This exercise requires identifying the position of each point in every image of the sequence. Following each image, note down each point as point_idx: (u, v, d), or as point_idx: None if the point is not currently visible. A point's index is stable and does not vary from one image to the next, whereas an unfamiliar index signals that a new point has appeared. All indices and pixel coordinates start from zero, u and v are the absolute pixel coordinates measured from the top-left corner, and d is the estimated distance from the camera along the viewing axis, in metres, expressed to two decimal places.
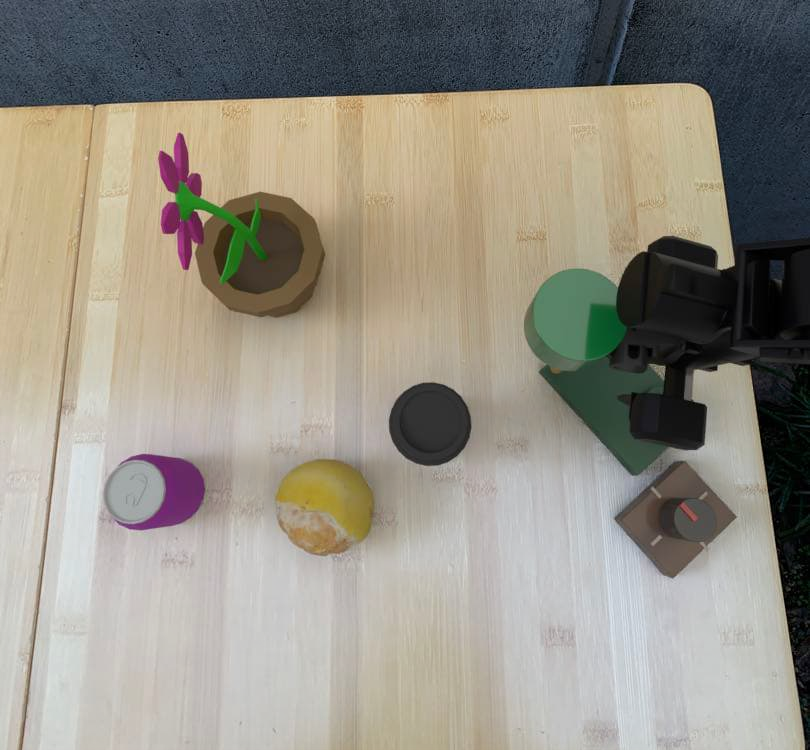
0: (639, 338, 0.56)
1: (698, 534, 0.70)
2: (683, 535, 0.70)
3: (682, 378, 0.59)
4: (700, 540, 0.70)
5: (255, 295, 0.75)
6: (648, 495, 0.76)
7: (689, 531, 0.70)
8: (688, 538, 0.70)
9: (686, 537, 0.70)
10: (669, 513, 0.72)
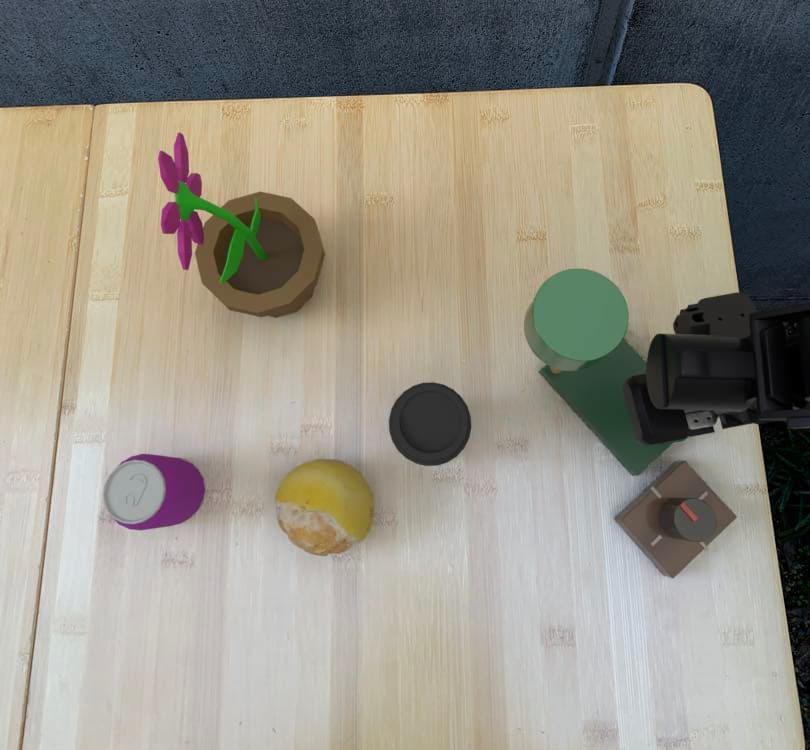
0: (713, 324, 0.59)
1: (698, 534, 0.70)
2: (683, 535, 0.70)
3: None
4: (700, 540, 0.70)
5: (255, 295, 0.75)
6: (648, 495, 0.76)
7: (689, 531, 0.70)
8: (688, 538, 0.70)
9: (686, 537, 0.70)
10: (669, 513, 0.72)
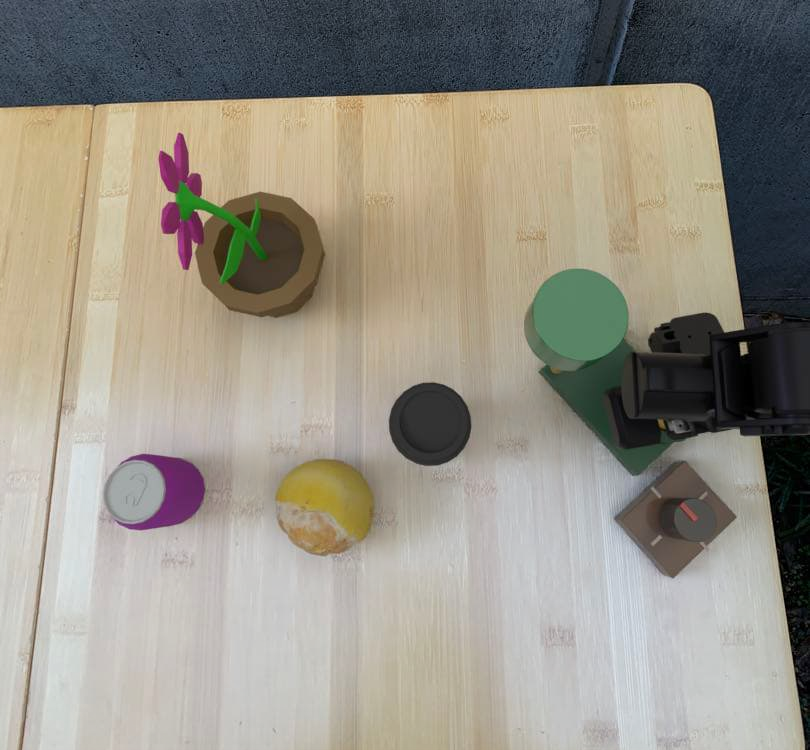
0: (683, 342, 0.65)
1: (698, 534, 0.70)
2: (683, 535, 0.70)
3: None
4: (700, 540, 0.70)
5: (255, 295, 0.75)
6: (648, 495, 0.76)
7: (689, 531, 0.70)
8: (688, 538, 0.70)
9: (686, 537, 0.70)
10: (669, 513, 0.72)
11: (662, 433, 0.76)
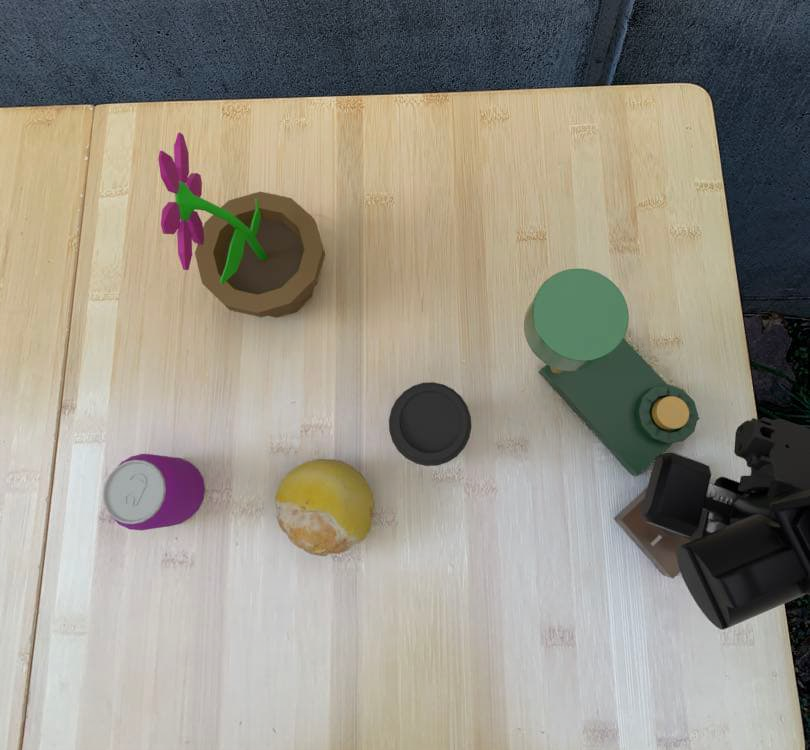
0: (777, 447, 0.55)
1: (698, 534, 0.70)
2: None
3: (724, 511, 0.56)
4: None
5: (255, 295, 0.75)
6: None
7: None
8: (688, 538, 0.70)
9: (686, 537, 0.70)
10: None
11: (662, 433, 0.76)
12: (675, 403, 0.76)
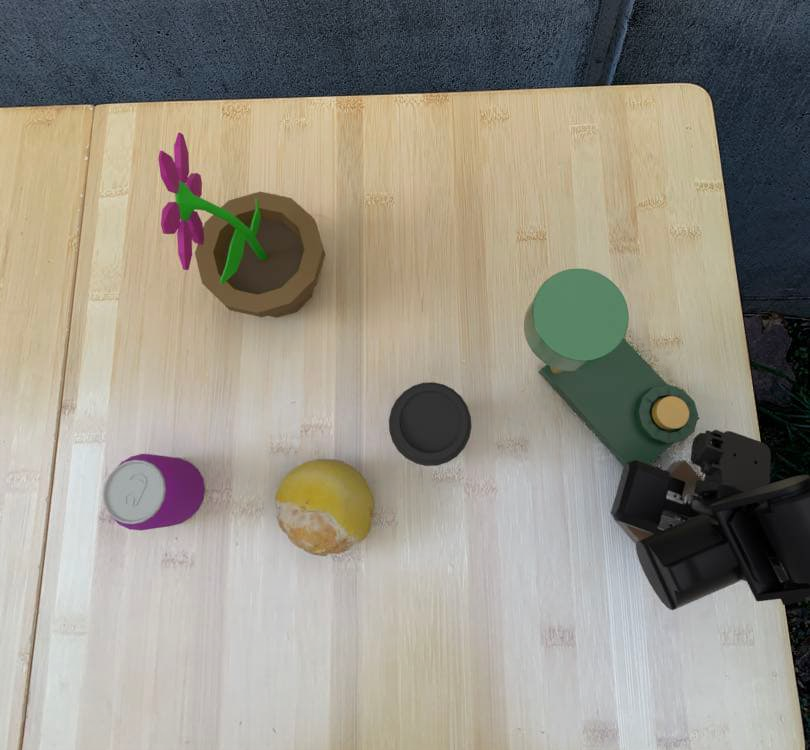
0: (726, 456, 0.64)
1: None
2: None
3: (682, 511, 0.66)
4: None
5: (255, 295, 0.75)
6: None
7: None
8: None
9: None
10: None
11: (662, 433, 0.76)
12: (675, 403, 0.76)
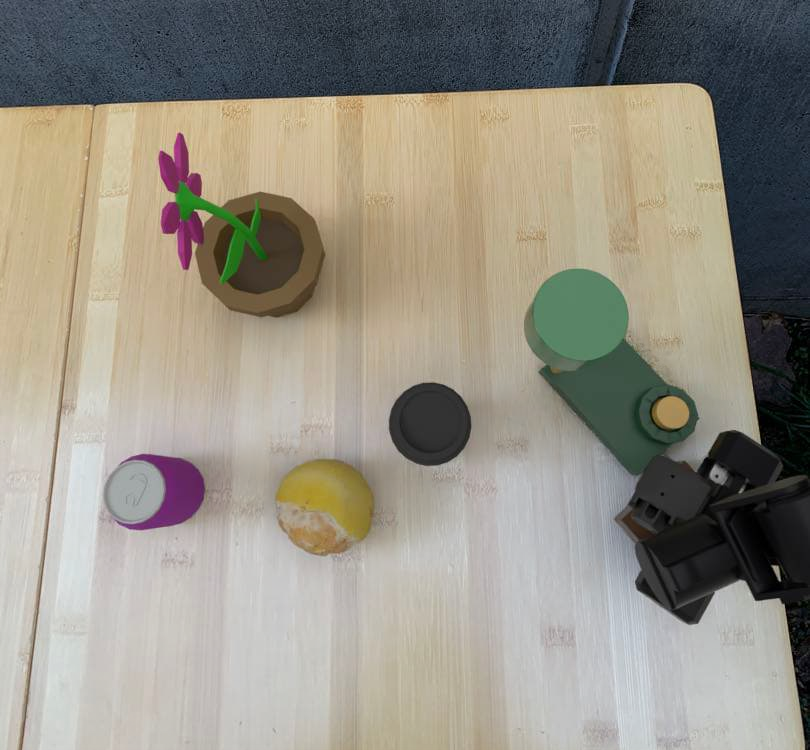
0: (662, 504, 0.64)
1: None
2: None
3: None
4: None
5: (255, 295, 0.75)
6: None
7: None
8: None
9: None
10: None
11: (662, 433, 0.76)
12: (675, 403, 0.76)
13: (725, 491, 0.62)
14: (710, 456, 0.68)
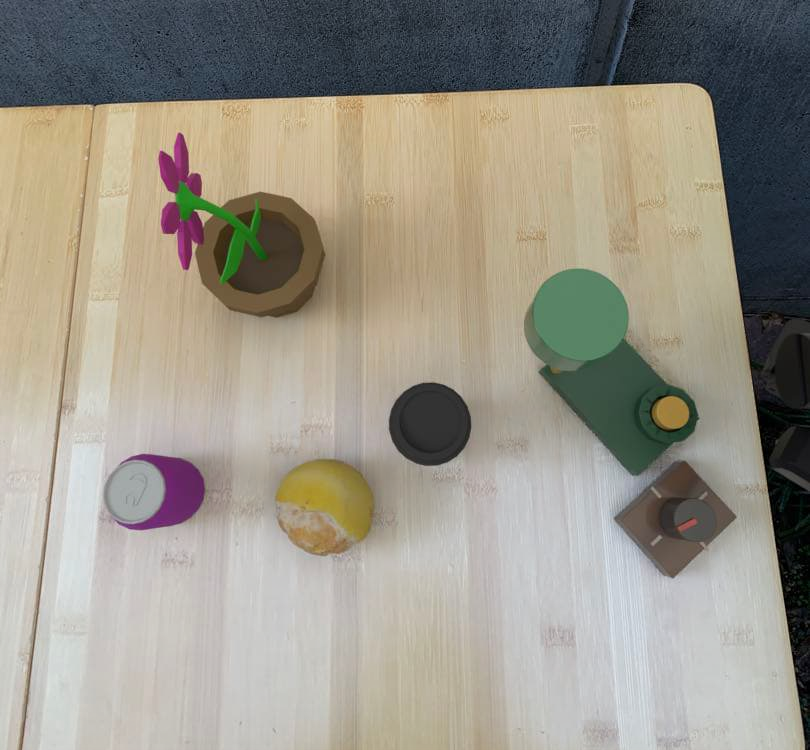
0: None
1: (709, 522, 0.71)
2: (708, 537, 0.70)
3: None
4: (715, 522, 0.71)
5: (255, 295, 0.75)
6: (648, 495, 0.76)
7: (705, 530, 0.70)
8: (711, 533, 0.70)
9: (710, 535, 0.70)
10: (680, 538, 0.72)
11: (662, 433, 0.76)
12: (675, 403, 0.76)
13: None
14: None
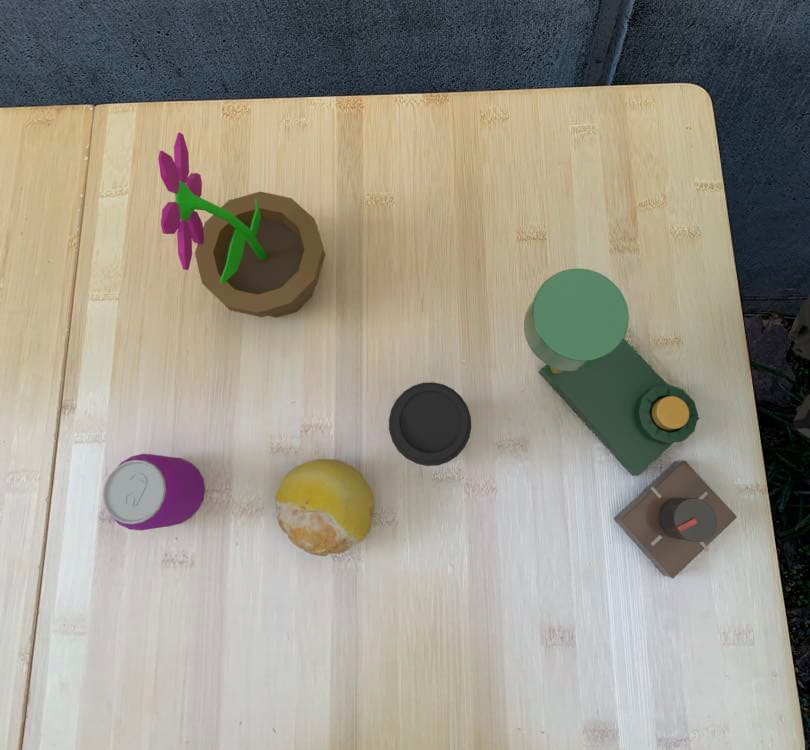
0: None
1: (709, 522, 0.71)
2: (708, 537, 0.70)
3: None
4: (715, 522, 0.71)
5: (255, 295, 0.75)
6: (648, 495, 0.76)
7: (705, 530, 0.70)
8: (711, 533, 0.70)
9: (710, 535, 0.70)
10: (680, 538, 0.72)
11: (662, 433, 0.76)
12: (675, 403, 0.76)
13: None
14: None
